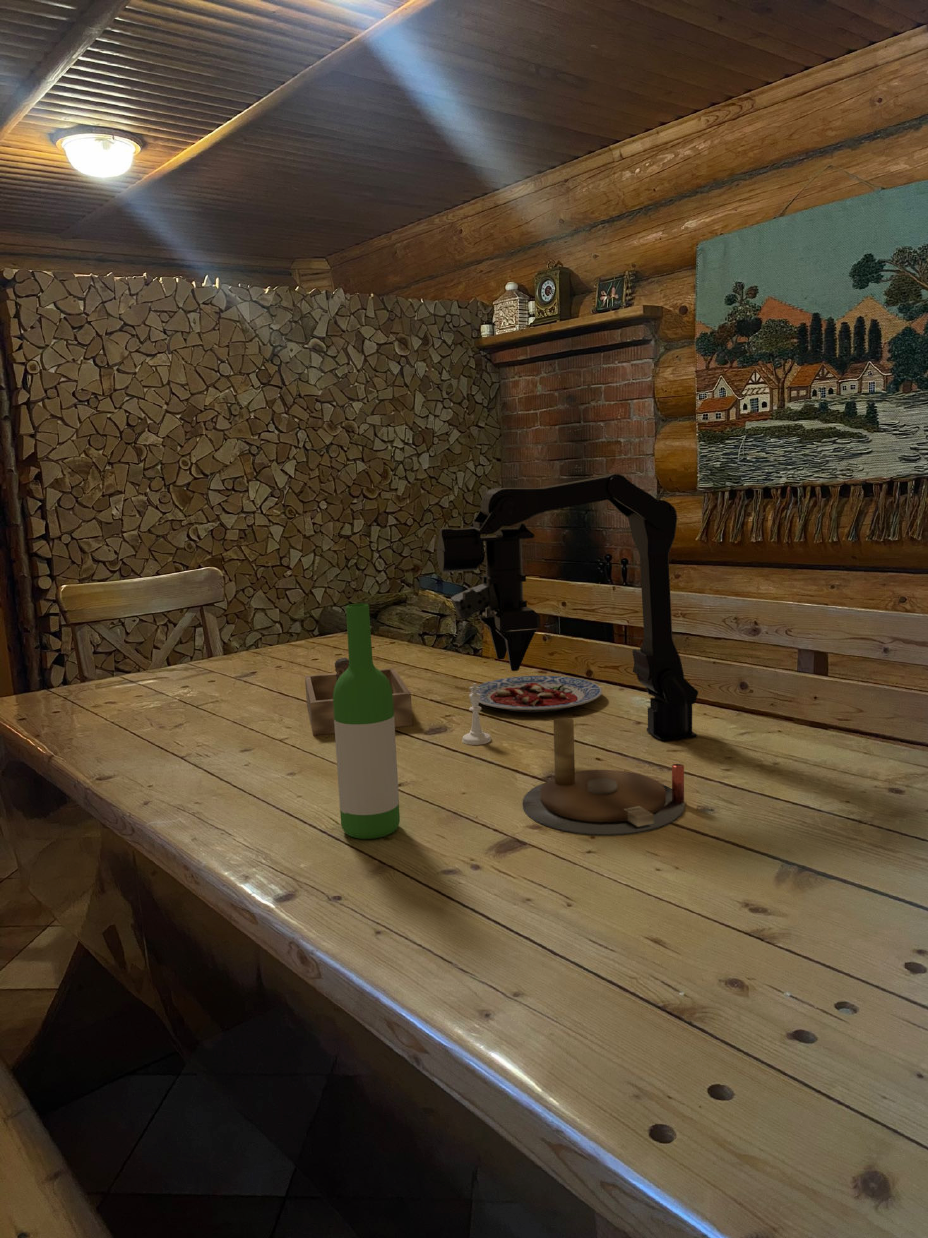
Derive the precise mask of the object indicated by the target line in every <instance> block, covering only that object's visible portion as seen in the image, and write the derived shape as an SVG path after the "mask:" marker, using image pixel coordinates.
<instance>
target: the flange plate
mask: <svg viewBox="0 0 928 1238" xmlns="http://www.w3.org/2000/svg"><path fill="white" fill-rule="evenodd" d="M574 726H575V722H574V719H573V718H569V717H559V718H555V719H553V754H554V757H553V758H554V759H553V760H554V777H551V778H550V779H548V780H547V781H545V782H543V783H544V784H543V783H542V784H543V785H542V787H541V790H540V798H541V803H542V804H543V806H544V807H545V808H546V809H548V810H549V811H551V812H553V813H555V814H558V815H560V816H564V817H567V818H571V819H576V820H582V821H592V822H618V821H629V822H631V823H632V824H634V825H636V826H637V827H639V826H644V825H649V824H654V813H655V812H657V811H659V810H660V809H661V808H662V807H663V806H664V805H665V802H666V791H665V788H664V787H663V785H664V784H663V783H661V782H660V781H658V780H656V779H655V778H652V777H649V776H646V775H644V774H640V773H636V772H631V771H626V770H618V769H617V770H615V769H586V770H577V771H576V770H575V769H576V768H575V762H576V761H575V727H574ZM662 784H663V785H662Z"/></svg>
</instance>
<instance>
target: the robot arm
mask: <svg viewBox="0 0 928 1238" xmlns="http://www.w3.org/2000/svg"><path fill="white" fill-rule="evenodd" d="M602 501H608V502H609V503H611V505H612V506H613V507H614V508H615V509H616V510H617V511H618V512H620V513H621V514H622V515H623V516H625V517H626V518H627V519H628V524H629V528H630V533H631V534H630V535H631V537H632V540H633V542H634V544H635V547H636V549H637V551H638V554H639V562H640V563H639V564H640V565H639V566H640V584H641V602H642V603H641V604H642V619H643V620H642V622H643V623H642V624H643V641H642V643H641V646H640V648H639V649H638V648H637V649H636V648H633V649H632V657H633V658H632V659H633V662H634V663H633V669H632V673H633V674H636V678H637V680H638V682H639V683H640V684H641V685H643V686H644V687H645V689H646V691H647V694H648V695H650V696H652V697H651V698H649V699H650V701H649V702H650V707H647V727H646V732H647V733H649V734H651V735H652V736H653V737H655V738H657V740H659V741H661V742H662V741H663V742H665V741H673V740H680V739H681V740H683V739H691V738H697V735H698V734H697V733H696V732H694V731H693V705H694V704H695V703H696V701H697V697H698V695H699V691H698V689H696V688H695V687H694V686H693V685H692V684H691V683H689V682H688V680H686V679H685V674H684V669H683V664H682V659H681V657H680V654H679V652H678V650H677V647H676V645H675V642H674V640H673V625H672V623H673V622H672V603H671V601H672V600H671V583H670V582H671V581H670V580H671V578H670V557H669V556H670V551H671V548H672V546H673V544H674V541H675V539H676V532H677V524H678V514H677V509H676V507H675V506H673V505H672V504H671V503H670V502H669V501H667V500H664V499H656V498H655V497H654V496H653V495H652V494H650V493H649V492H647V491H645V490H643V489H642V488H640V487H638V486H637V485H636V484H634V483H632V482H631V481H630V480H628V479H627V478H626V477H625V476H624V475H622V474H620V473H605V474H604V475H601V476H597V477H591V478H586V479H581V480H574V481H570V482H564V483H559V484H552V485H548V486H541V487H537V488H535V487H531V488H530V487H528V488H527V487H495V488H491V489H489V490H487V491H486V492H485V494H484V495H483V497H482V499H481V501H480V510H479V511H478V513H477V514H476V516H475V518H474V519H473V521H472V522H471V524H470V525H469V526H468V527H464V528H448V527H443V528H439V531H438V532H439V536H438V541H437V542H438V543H437V548H436V558H437V564H438V569H439V571H440V573H453V572H467V571H468V572H469V571H470V572H471V571H477V570H478V568H479V566H481V565H482V564H484V562H485V573H483V576H481V583H480V584H479V585H476V586H472V587H471V588H468V589H467V590H464V591H461V592H460V593H459V592H458V593H457V594H454V595H452V596H451V597H450V600H451V603H452V605H453V608H454V609H455V613H456V614H457V617H459V618H460V619H461V620H464V619H465V620H466V619H468V618H470V617H471V616H473V614H474V615H475V614H476V615H478V616H477V618H478V619H479V620H480V621H481V622H482V623H484V625H486V626H487V627H488V630H489V633H490V637H491V640H492V644H493V647H494V648H493V649H494V652H495V655H496V658H497V659H498V660H504V659H505V658H506V654H507V657H508V663H509V666H510V667H509V668H510V671H511V672H518V671H519V670H520V667H521V665H522V663H523V660H524V658H525V656H526V653H527V651H528V649H529V646H530V645H531V642H532V640H533V637H534V636H535V634H536V633H537V632H538V629H540V627H541V625H540V624H541V622H540V621H541V620H540V616H541V615H540V614H538V613H537V612H536V611H535V610H534V609H533V608H531V607H529V606H528V603H527V602H528V601H527V600H526V599H524V585H523V584H524V583H523V582H525V583H526V582H527V575H526V574H524V573H523V551H522V550H523V549H522V547H523V546H522V540H526V539H528V540H529V539H534V538H535V534H534V533H533V532H532V531H531V530H529V529H528V528H527V526H526V525H525V523H522V522H525V521H527V520H530V519H532V518H534V517H536V516H538V515H541V514H543V513H545V512H549V511H554V510H560V509H566V508H570V507H574V506H580V505H586V504H587V505H588V504H592V503H598V502H602ZM516 524H517V525H516ZM513 525H516V527H514V528H513V527H512V526H513ZM502 527H511V528H502ZM495 533H496V534H495ZM493 534H495V535H493ZM481 535H483V536H481ZM485 535H486V536H485ZM484 545H485V546H484ZM484 560H485V561H484Z"/></svg>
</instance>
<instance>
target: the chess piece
mask: <svg viewBox="0 0 928 1238" xmlns="http://www.w3.org/2000/svg"><path fill="white" fill-rule="evenodd" d="M468 690H469V691H472V690H473V693H472V694H470V693H469V695H468V697H469V701H470V704H471V706H470V707H469V709H468V710H469V711H471V712H472V717H471V718H472V719H471V728H470V730H469V732H468V733H465V734H464V735H463V736H462V740H461V742H462V743H463V744H465V745H469V746H470V745H471V746H472V745H473V746H478V745H486V744H489V743H490V742H491V741H492V739H491V735H490V734H489V733H487V732H484V730H483V729H482V726H481V722H480V721H481V720H480V713H479V711H481V710H482V709H483V708H482V707H481V706H479V704H480V703H479V700H480V697H481V695H480V694H479V693H476V690H480V687H477V683H476V682H475V683H472V686H470V687H468Z"/></svg>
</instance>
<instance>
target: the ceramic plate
mask: <svg viewBox="0 0 928 1238" xmlns="http://www.w3.org/2000/svg"><path fill="white" fill-rule="evenodd" d="M476 687H480V690H476V693H479V694H480V695H481V697H480V700H479V704H481V705H484V706H488V707H493V708H498V709H503V710H506V711H510V712H521V713H544V712H545V713H547V712H557V711H562V710H565V709H570V708H571V707H576V706H580V705H584V704H588V703H591V702H593V701H595V700H597V699H598V698H600V697H601V695H602V693H603V689H602V687H600V686H599V685H598V684H596V683H594V682H592V681H589V680H585V679H581V678H577V677H576V678H575V677H571V676H570V677H569V676H557V675H524V676H513V677H504V678H499V679H495V680H490V681H487V682H483V683H481V684H479V685H476ZM472 693H473V690H470V693H469V695H470V694H472Z"/></svg>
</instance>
